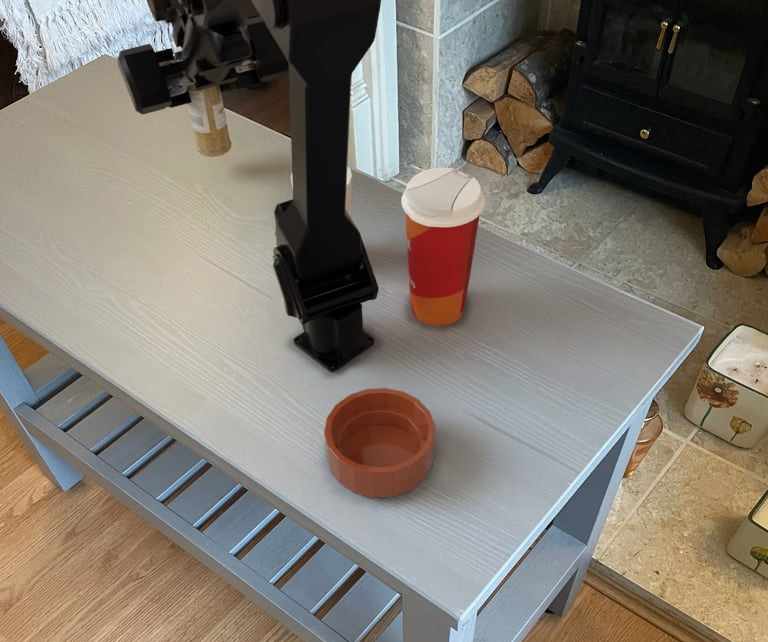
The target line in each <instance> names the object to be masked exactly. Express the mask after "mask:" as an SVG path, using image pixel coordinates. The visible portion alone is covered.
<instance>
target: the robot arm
mask: <svg viewBox="0 0 768 642" xmlns="http://www.w3.org/2000/svg"><path fill="white" fill-rule="evenodd" d="M146 3H147V6H148V9H149V11H150V13H151V15H152V17H153V19H154V21H155V22H162V21H163V22H165V24H171V27H172V33H171V34H172V35H171V36H172V39H173V40H174V42H175V45H176V47H181V49H182V51H179V52H174V49H173V48H172V47H169V48H166V49H161V50H158V51H155V49H154V47H153V46H152V44H151V43H146V44H143V45H139V46H134V47H130V48H127V49H122V50H120V51H119V53H118V55H117V66H118V68H119V71H120V74H121V77H122V79H123V81H124V85H125V87H126V89H127V92H128V94H129V96H130V100H131V102H132V105H133V107H134V110H135V112H137V113H139V114H141V115H148V114H151V113H155V112H159V111H162V110H165V109H166V108H170V109H171V108H176V107H180V106H185V105H187V104H188V103H191V102H192V101H191V98H190V95H189V93H188V90H187V86H188V85H192V84H195V87H196V89H197V91H199V90H202V89H206V88H210V87H214V86H218V85H220V90H221V93H226V92H234V91H240V90H244V89H247V88H251V87H256V86H258V85H259V83H260V81H261V82H265V83H267V82H271V81H274V80H278V79H281V78H286V77H287V76H288V81H289V82H288V86H289V87H288V89H289V90H288V91H289V117H290V118H289V119H290V121H289V122H290V145H291V171H292V172H291V174H292V180H293V189H292V199H289V200H286V201H283V202H280V203H276V206H275V208H274V212H273V214H274V220H275V221H274V223H275V231H274V236H275V238H276V239H275V241H276V243H275V244H276V246H275V247H274V248H273V255H272V259H273V263H272V269H273V271H274V274H275V277H276V281H277V283H278V286H279V289H280V292H281V295H282V299H283V303H284V310H285V313H286V315H287V316H288V317H292V318H294V319H296V318H297V320H298V321H299V323H300V325H301V327H302V330H303V332H302V333H300V334H299V335H296V337H294V338H293V344H294V345H295V347H297V348H298V349H300V350H301V351H303V352H304V354H306V355H308V356H309V357H311V359H313V360H314V361H315V362H317V363H318V364H320V365H321V366H322V367H323V368H324V369H326V370H327V371H328V372H330V373H331V372H336V371H338V370H339V369H340V368H342V367H344V366H345V365H346V364H348V363H350V362H351V361H352V360H353V359H355V358H357V357H358V356H359V355H360V354H362V353H364V352H365V351H366V350H368V349H370V348H371V347H372V346H374V345H375V342H376V341H375V337H373V336H372V335H370V334H369V333H368V332H367V331H365V330H364V318H363V304H362V303H366V302H368V301H374V300H377V298H378V294H379V284H378V282H377V278H376V276H375V273H374V269H373V267H372V264H371V261H370V258H369V254H368V252H367V249H366V246H365V244H364V243H365V242H364V241H363V238H362V234H361V232H360V230H359V228H358V227H357V225H356V224H355V222H354V221H353V219H352V217H350V215H349V214H348V212H347V210H346V209H345V207H346V185H347V166H348V161H349V160H348V159H349V138H350V118H351V116H350V115H351V96H352V95H351V94H352V93H351V91H352V77H353V73H354V72H355V70H356V69H357V67H358V65H359V64H360V63H361V61H362V60H363V59H364V57H365V55H366V54H367V53H368V51H369V50H370V48H371V47H372V45H373V44H374V42H375V39H376V34H377V29H378V23H379V17H380V11H381V6H382V0H146ZM181 59H182V61H181ZM178 60H179V62H178ZM256 64H257V65H256ZM257 67H258V69H259V71H260V72H259V73H258V70H257ZM184 76H186V78H185V77H184ZM188 76H189V77H188Z"/></svg>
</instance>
